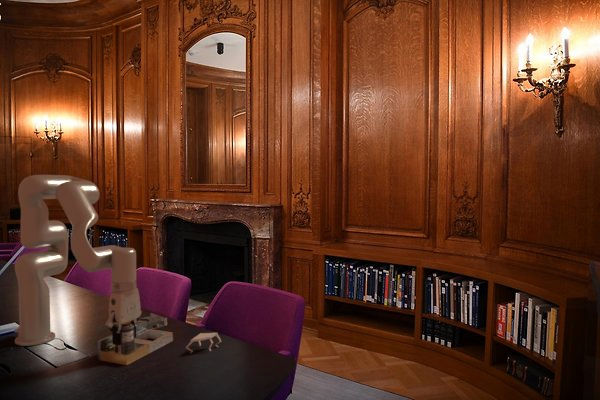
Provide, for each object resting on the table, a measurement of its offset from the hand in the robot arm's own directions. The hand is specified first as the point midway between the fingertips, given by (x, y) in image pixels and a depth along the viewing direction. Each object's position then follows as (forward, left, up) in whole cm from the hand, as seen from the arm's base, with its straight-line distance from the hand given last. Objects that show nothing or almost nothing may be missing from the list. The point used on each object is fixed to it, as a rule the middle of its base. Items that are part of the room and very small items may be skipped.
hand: (124, 340), depth 149 cm
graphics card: (-16, +27, -6) cm, 32 cm away
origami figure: (+20, +14, -6) cm, 25 cm away
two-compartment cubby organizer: (0, +6, -5) cm, 8 cm away
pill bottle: (0, 0, -4) cm, 4 cm away
